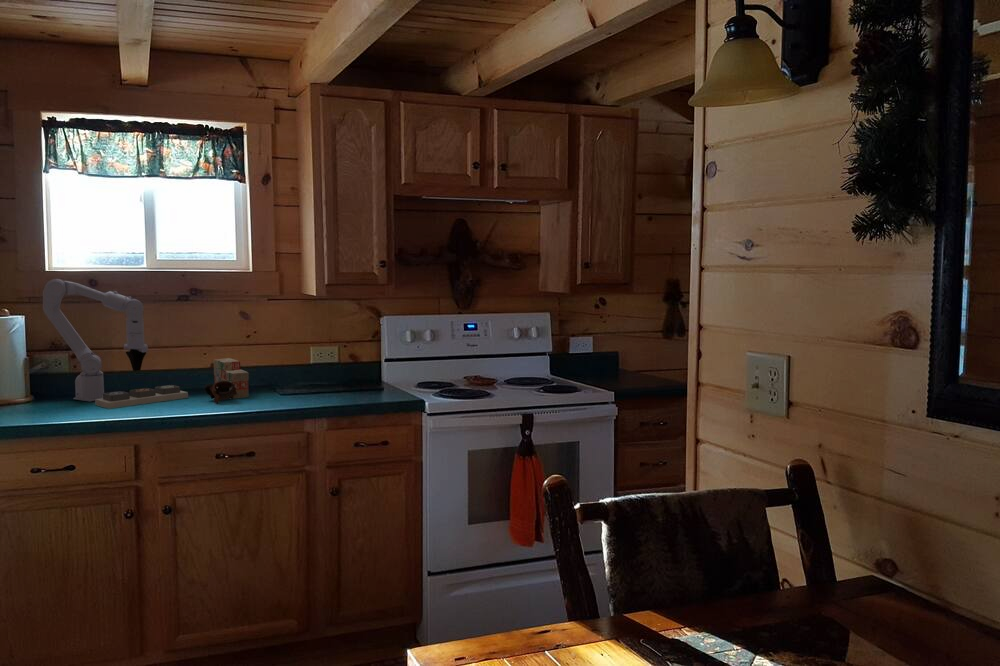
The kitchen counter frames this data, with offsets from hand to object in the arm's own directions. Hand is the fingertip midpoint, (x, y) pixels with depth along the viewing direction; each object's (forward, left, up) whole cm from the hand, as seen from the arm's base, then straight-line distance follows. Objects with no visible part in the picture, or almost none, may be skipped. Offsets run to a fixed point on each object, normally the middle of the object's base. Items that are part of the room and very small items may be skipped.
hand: (136, 370), depth 287 cm
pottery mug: (+32, +10, -10) cm, 35 cm away
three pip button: (+10, -5, -7) cm, 13 cm away
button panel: (+10, -5, -9) cm, 15 cm away
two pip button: (+8, -14, -7) cm, 18 cm away
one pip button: (+12, +4, -7) cm, 14 cm away
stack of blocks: (+24, +22, -10) cm, 34 cm away
